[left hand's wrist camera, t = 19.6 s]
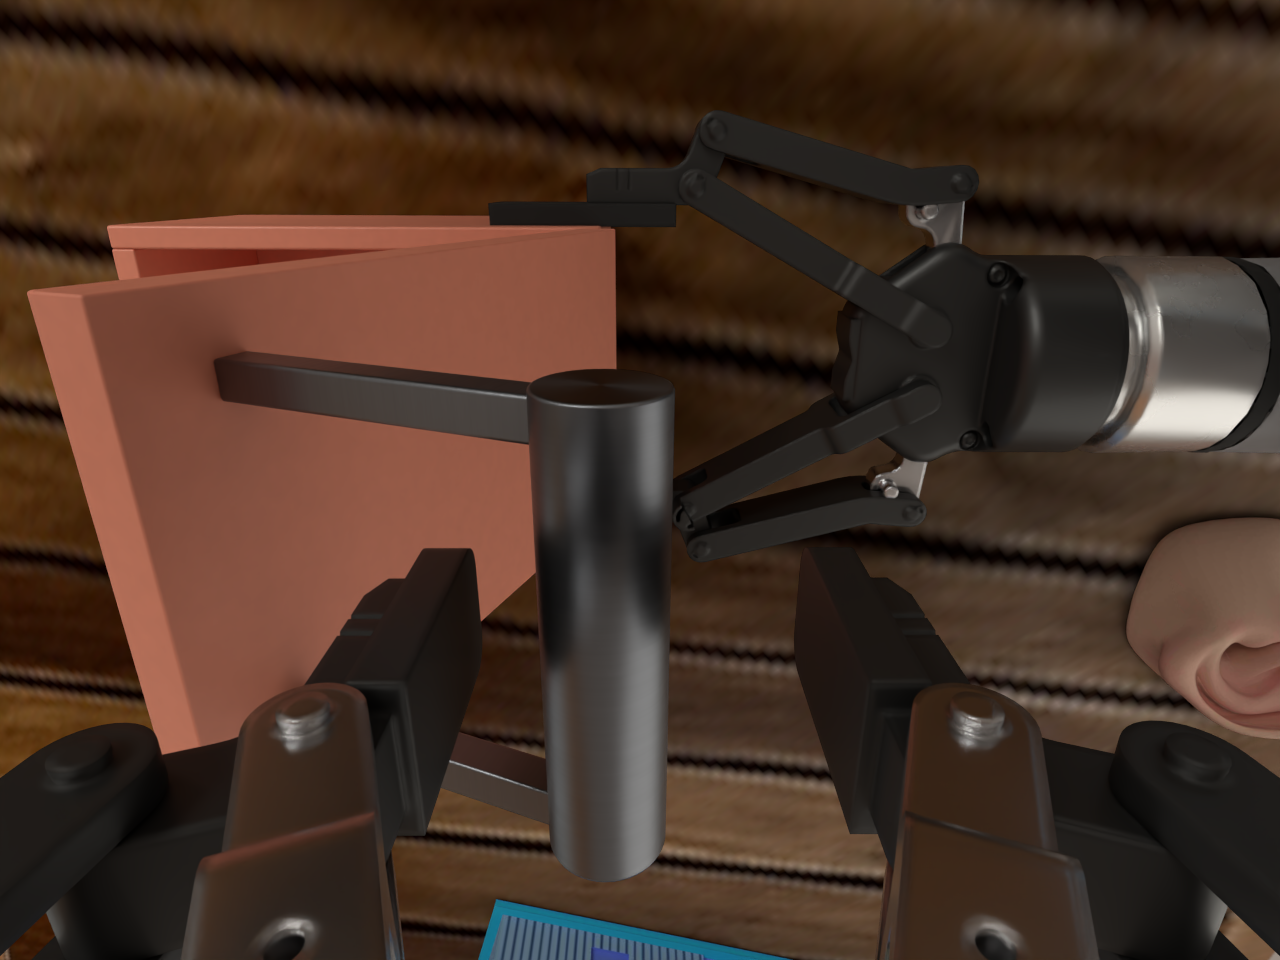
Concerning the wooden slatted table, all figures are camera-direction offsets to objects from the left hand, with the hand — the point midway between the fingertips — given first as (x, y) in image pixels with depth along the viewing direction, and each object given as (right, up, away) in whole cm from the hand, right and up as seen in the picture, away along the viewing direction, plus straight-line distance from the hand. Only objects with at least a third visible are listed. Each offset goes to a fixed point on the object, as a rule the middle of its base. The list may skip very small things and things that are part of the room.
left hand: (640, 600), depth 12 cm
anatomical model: (+33, -5, +30) cm, 45 cm away
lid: (-5, +3, +7) cm, 9 cm away
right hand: (-5, +7, +17) cm, 19 cm away
